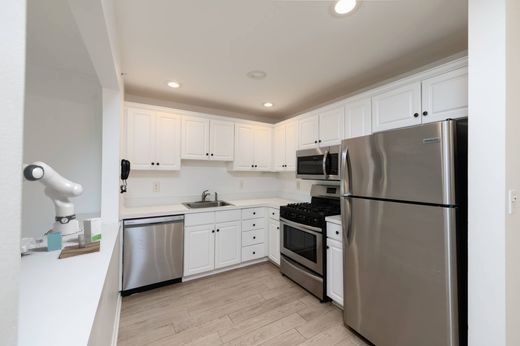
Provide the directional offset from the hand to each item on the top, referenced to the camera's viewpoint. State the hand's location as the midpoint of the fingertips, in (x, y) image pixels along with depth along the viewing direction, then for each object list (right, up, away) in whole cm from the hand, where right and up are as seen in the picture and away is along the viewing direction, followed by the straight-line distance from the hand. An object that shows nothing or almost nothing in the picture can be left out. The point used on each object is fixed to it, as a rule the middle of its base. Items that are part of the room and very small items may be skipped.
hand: (41, 242), depth 137 cm
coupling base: (+24, -5, +1) cm, 25 cm away
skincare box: (+19, -5, +18) cm, 26 cm away
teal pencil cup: (+5, -5, +4) cm, 8 cm away
